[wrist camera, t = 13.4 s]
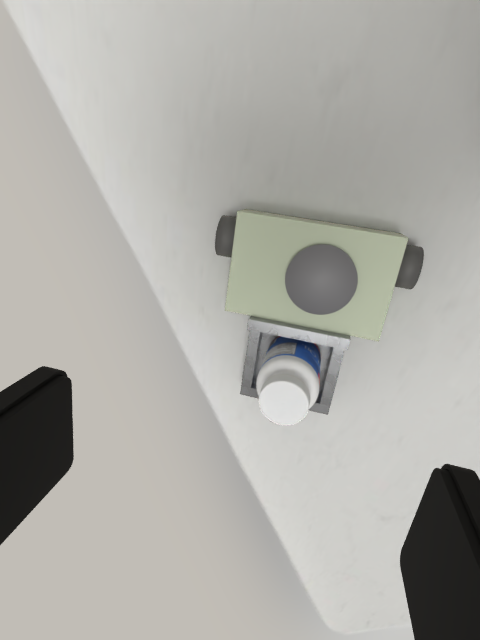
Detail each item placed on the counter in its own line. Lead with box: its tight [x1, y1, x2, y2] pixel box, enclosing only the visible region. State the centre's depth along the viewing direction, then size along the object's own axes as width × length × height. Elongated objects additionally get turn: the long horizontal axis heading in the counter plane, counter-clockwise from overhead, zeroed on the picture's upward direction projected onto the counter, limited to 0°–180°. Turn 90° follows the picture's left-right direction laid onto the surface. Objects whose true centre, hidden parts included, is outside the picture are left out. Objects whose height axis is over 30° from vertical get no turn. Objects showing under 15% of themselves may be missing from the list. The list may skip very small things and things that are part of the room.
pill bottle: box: [256, 336, 321, 426], centre depth 34 cm, size 6×5×10 cm
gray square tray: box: [240, 316, 350, 415], centre depth 37 cm, size 9×9×4 cm
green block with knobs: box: [215, 209, 424, 341], centre depth 34 cm, size 17×9×4 cm, turn 82°
